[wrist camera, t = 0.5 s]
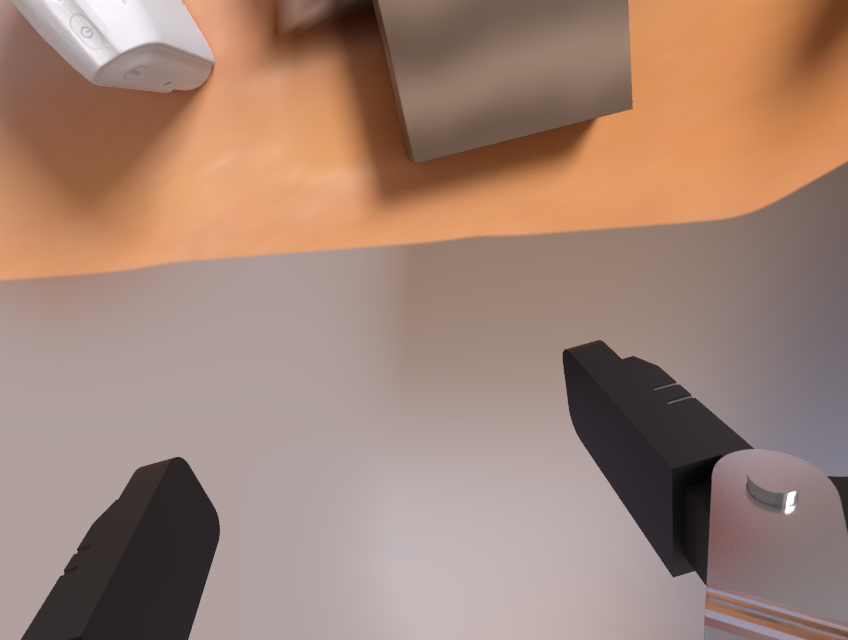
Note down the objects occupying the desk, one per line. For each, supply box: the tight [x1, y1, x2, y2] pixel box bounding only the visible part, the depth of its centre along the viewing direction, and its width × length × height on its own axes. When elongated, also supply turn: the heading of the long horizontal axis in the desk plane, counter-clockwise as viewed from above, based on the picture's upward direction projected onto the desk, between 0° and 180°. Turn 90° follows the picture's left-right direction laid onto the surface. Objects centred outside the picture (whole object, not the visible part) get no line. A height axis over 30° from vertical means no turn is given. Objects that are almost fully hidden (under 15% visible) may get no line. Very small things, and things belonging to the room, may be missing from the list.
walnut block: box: [372, 0, 632, 164], centre depth 28 cm, size 14×14×4 cm
